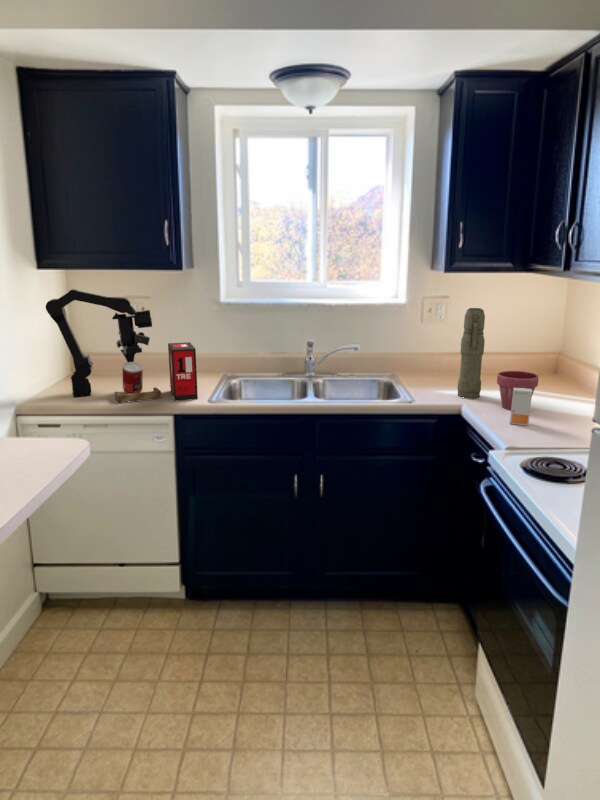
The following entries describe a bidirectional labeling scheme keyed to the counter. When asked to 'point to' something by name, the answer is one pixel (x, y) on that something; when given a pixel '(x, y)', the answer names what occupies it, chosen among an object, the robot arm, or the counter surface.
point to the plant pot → (514, 384)
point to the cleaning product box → (183, 371)
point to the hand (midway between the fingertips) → (131, 366)
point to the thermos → (471, 354)
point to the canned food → (132, 377)
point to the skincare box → (521, 406)
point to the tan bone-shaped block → (138, 396)
